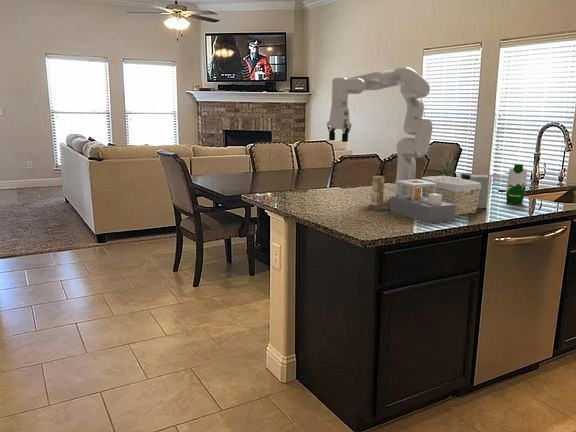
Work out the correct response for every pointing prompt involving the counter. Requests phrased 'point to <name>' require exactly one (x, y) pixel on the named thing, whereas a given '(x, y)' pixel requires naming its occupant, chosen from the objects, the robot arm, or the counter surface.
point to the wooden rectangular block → (377, 191)
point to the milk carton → (516, 184)
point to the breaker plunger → (416, 193)
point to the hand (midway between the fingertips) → (338, 141)
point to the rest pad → (379, 208)
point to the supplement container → (467, 175)
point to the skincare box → (483, 191)
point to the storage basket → (455, 192)
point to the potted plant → (448, 166)
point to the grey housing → (421, 204)
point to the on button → (434, 199)
